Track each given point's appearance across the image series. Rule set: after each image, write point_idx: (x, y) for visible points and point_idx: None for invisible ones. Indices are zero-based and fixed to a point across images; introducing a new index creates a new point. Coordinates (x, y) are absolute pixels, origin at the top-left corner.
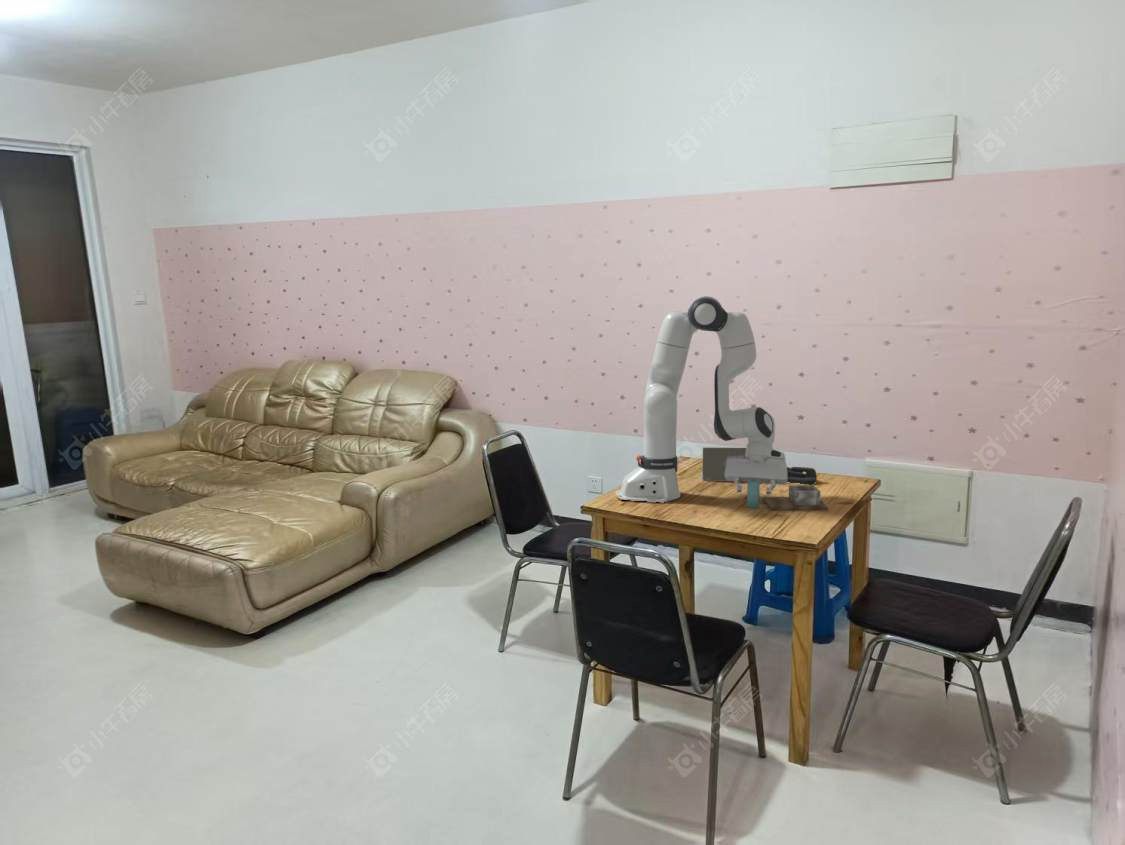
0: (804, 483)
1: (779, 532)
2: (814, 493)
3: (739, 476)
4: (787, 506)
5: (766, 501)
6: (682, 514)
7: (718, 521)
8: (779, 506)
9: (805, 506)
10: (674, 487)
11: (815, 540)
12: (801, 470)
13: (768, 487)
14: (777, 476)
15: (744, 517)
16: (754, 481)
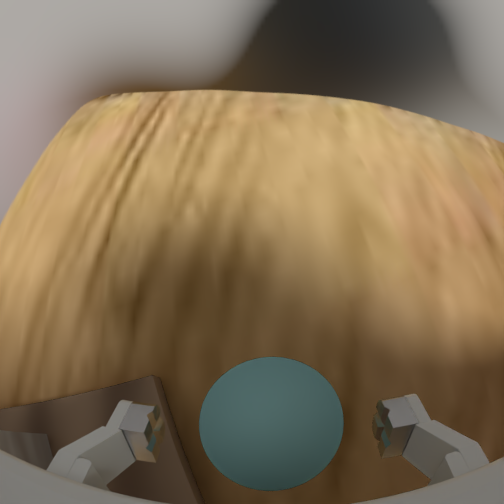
0: None
1: (143, 124)
2: None
3: (459, 476)
4: (74, 404)
5: (195, 496)
6: (493, 192)
7: (361, 150)
8: (111, 398)
9: (11, 414)
10: None
11: (71, 117)
12: None
13: (127, 430)
14: (5, 472)
15: (280, 221)
16: (265, 461)
